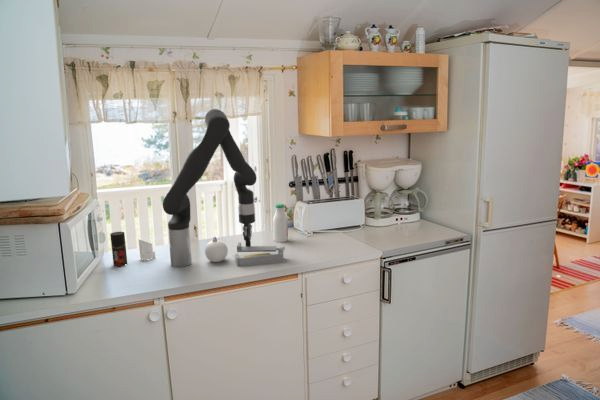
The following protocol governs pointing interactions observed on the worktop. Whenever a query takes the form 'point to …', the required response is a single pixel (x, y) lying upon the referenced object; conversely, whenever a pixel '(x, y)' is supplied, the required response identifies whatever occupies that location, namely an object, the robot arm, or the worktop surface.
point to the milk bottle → (280, 224)
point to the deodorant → (118, 248)
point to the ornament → (216, 250)
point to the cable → (257, 255)
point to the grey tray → (258, 258)
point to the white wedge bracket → (146, 250)
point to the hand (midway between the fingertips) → (248, 247)
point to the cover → (259, 248)
